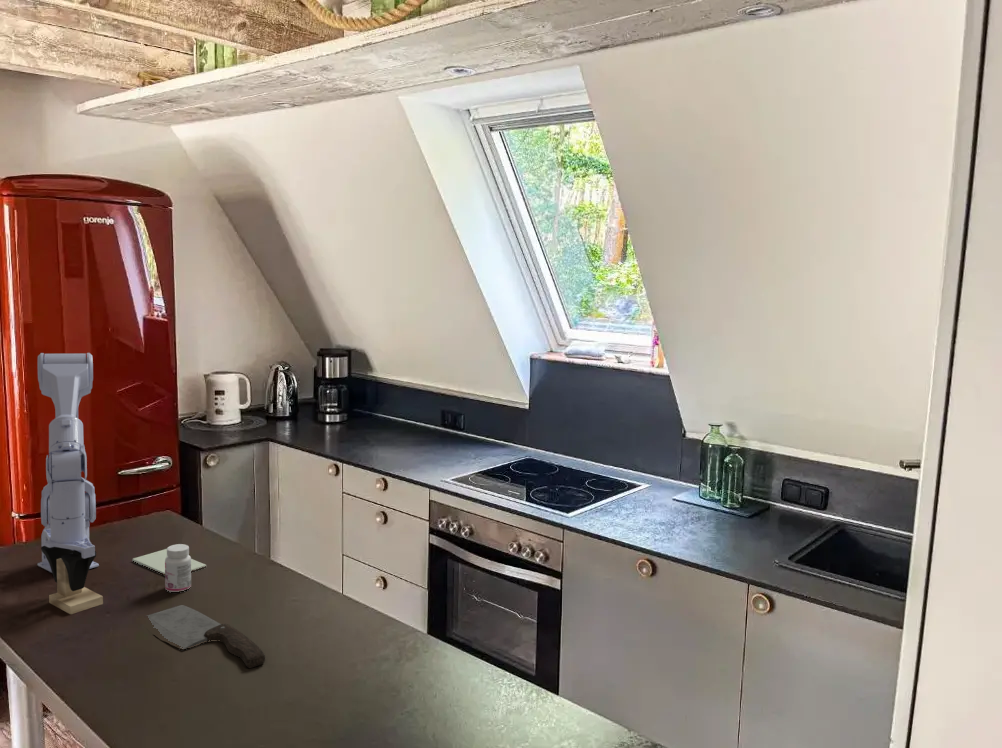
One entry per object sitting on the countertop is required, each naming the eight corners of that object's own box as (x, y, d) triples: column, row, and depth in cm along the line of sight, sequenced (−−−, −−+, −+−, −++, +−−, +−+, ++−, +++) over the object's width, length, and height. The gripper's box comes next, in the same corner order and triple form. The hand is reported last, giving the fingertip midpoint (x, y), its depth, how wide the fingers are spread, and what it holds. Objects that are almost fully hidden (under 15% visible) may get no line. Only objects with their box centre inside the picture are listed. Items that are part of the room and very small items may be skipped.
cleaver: (278, 660, 135) (278, 647, 135) (226, 682, 128) (226, 669, 127) (181, 608, 153) (180, 597, 153) (130, 625, 146) (130, 613, 145)
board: (132, 561, 173) (132, 558, 173) (166, 551, 179) (166, 548, 179) (172, 578, 165) (172, 575, 165) (206, 567, 171) (206, 564, 171)
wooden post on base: (49, 602, 151) (48, 561, 150) (81, 592, 156) (80, 552, 155) (70, 614, 147) (69, 572, 146) (102, 604, 152) (102, 562, 151)
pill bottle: (160, 588, 160) (160, 547, 159) (183, 581, 164) (183, 541, 163) (172, 595, 157) (172, 553, 156) (195, 588, 161) (195, 547, 160)
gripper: (25, 511, 151) (27, 581, 153) (66, 528, 143) (68, 602, 145) (63, 502, 157) (65, 570, 159) (105, 519, 149) (106, 590, 151)
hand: (69, 585), depth 152 cm, fingers open, 5 cm apart
